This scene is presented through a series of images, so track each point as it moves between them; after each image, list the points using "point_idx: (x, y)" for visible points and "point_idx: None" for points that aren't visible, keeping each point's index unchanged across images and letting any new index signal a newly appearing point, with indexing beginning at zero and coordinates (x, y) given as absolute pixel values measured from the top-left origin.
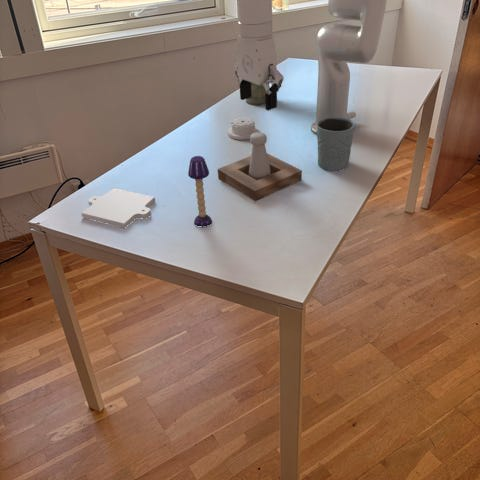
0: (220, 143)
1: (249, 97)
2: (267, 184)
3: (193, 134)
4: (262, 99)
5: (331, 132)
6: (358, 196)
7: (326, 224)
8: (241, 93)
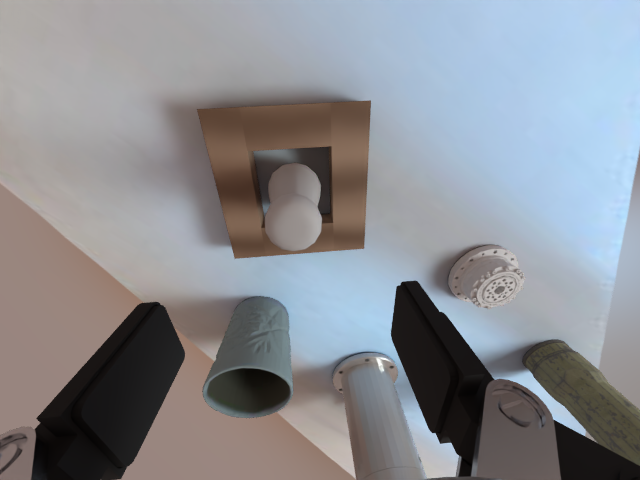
0: (492, 213)
1: (392, 325)
2: (214, 159)
3: (582, 191)
4: (534, 361)
5: (217, 370)
6: (135, 284)
7: (47, 179)
8: (421, 311)
